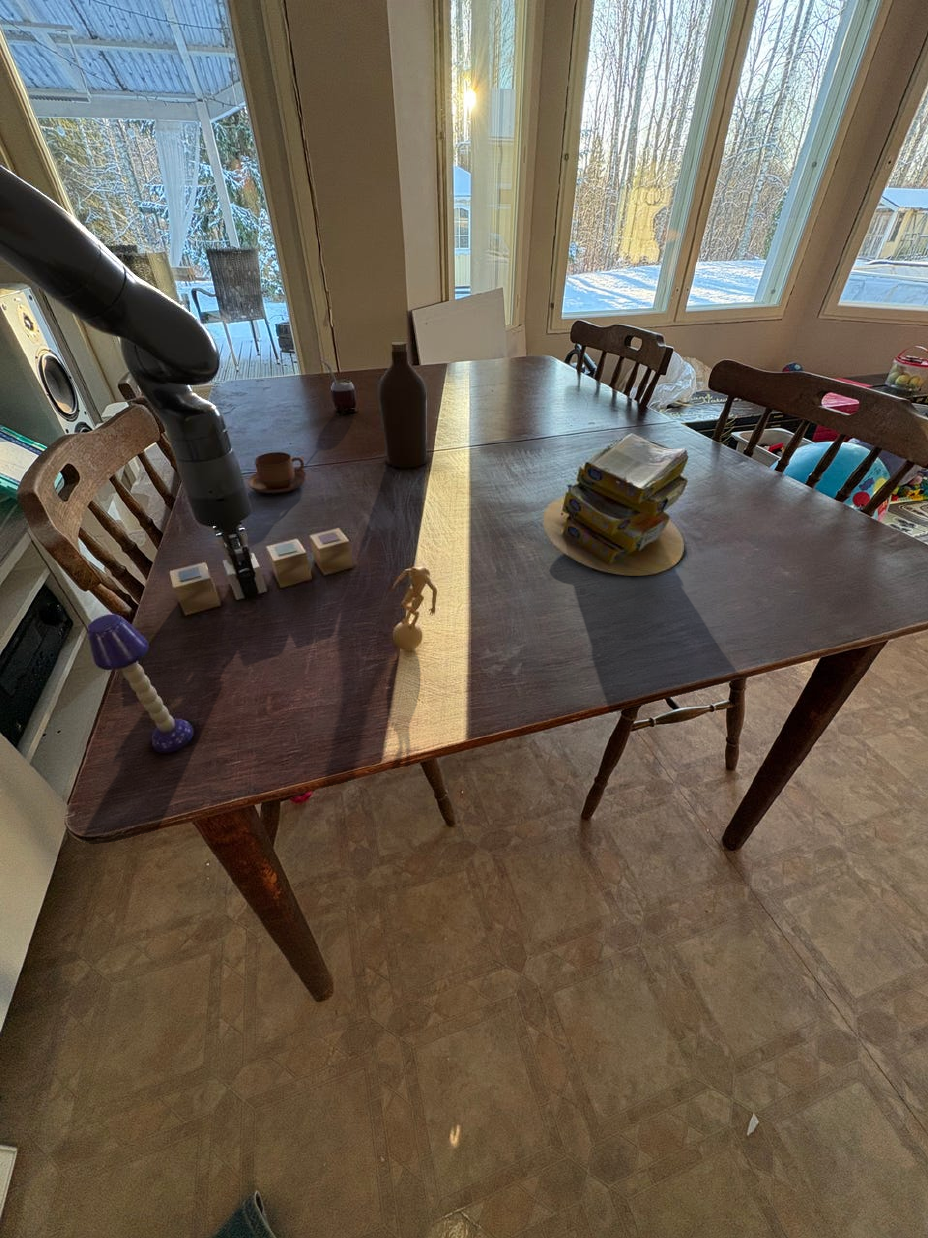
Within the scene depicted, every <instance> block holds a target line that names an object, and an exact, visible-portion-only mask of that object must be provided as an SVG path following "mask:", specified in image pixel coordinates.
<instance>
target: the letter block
mask: <svg viewBox="0 0 928 1238" xmlns="http://www.w3.org/2000/svg"><path fill="white" fill-rule="evenodd" d="M251 555H252V559H251V562H252V565H253V569H254V571H255V573H256V574H255V576H256V577H254V579H255V582H256V585H257V588H258V591H259V593H258V595H259V594H262V593H266V592H268V590H267V586H266V582H265V580H264V579H265V578H264V576H263V573H262V569H261V566H260V564H259V562H258V560H257V558H256V556H255V553H254V552H251ZM222 564H223V566H224V570H225V572H226V575H227V578H228V581H229V583H230V587H231V589H232V592H233V595H234V597H235V600H241V599H245V597H244V595H243V592H242V589H241V587H240V584H239V581H238V579H236V577H235V571H234V568H233V565H230V564H228V562H227V559H224V560H222Z"/></svg>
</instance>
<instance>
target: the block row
mask: <svg viewBox="0 0 928 1238" xmlns="http://www.w3.org/2000/svg"><path fill="white" fill-rule="evenodd" d="M309 539H310V545H311V549H312V554H313V558H314V562H315V564H316V565H317V567H318V568H319V570H320V572H321V573H322V574H323V576H328V575H330V574H334V573H338V572H341V571H345V570H348V569H352V568H354V563H353V558H352V550H351V545H350V540H349V539H348V538H347V536H346V535H345V534H344V533H343V532H342V530H341V529H340V528H339V527H337V528H333V529H330V530H325V531H322V532H318V533H314V534H310V535H309ZM265 549H266V552H267V557H268V559H269V562H270V567H271V569H272V573H273V575H274V577H275V579H276V581H277V583H278V585H279V587H280V588H281V589H282V588H286V587H289V586H292V585H293V586H294V585H296V584H300V583H303V582H307V581H310V580H313V577H312V573H311V567H310V564H309V559H308V555H307V554H308V553H307V551H306V550H305V549H304V547H303V545H302V544H301V543H300V541H299V538H294V539H290V540H286V541H283V542H278V543H274V544H271V545H267V546H265ZM169 575H170V576H169V577H170V581H171V585H172V589H173V591H174V593H175V595H176V598H177V600H178V603H179V604H180V607H181V609H182V611H183V614H184V616H189V615H193V614H195V613H199V612H203V611H207V610H209V609H214V608H217V607H220V606H222V603H221V601H220V598H219V594H218V592H217V589H216V587H215V584H214V581H213V579H212V576H211V573H210V570H209V569H208V565H207V562H205V561H204V562H200V563H197V564H192V565H188V566H185V567H181V568H176V569H173V570H169Z"/></svg>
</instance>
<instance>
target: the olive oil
mask: <svg viewBox="0 0 928 1238" xmlns="http://www.w3.org/2000/svg"><path fill="white" fill-rule="evenodd" d="M390 346H391V351H390V353H391V360H392V361H391V365H390V366H389V367H388V368H387V370H386V371H385V373H384V374H383V375H382V377H381V379H380V381H379V382H378V388H377V397H378V403H379V404H378V405H379V410H380V416H381V417H380V418H381V423H382V424H381V425H382V431H383V437H384V443H385V444H384V445H385V452H386V460H387V463H388V464H389V465H390V466H391V467H394V468H399V469H413V468H418V467H421V466H423V465H425V464H426V463H427V462H428V393H427V387H426V384H425V381H424V379H423V378H422V376H421V375H420V374H419V373H418V372H417V371H416V370H415V368H413V367H412V366H411V364H410V363H409V357H408V356H409V354H408V353H409V352H408V350H407V347H408V346H407V342H405V341H393V342H391V343H390Z"/></svg>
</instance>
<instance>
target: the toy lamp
mask: <svg viewBox="0 0 928 1238" xmlns="http://www.w3.org/2000/svg"><path fill="white" fill-rule="evenodd" d="M86 634H87V638H88V642H89V647H90V652H91V655H92V659H93V662H94V664H95V665H96V666H97V667H98V668H99V669H101V670H103V671H116V670H117V671H118V670H122V674H123V677H124V678H125V679H126V681H128V682H129V686H130V688H131V689H132V690H133V691H134V692H135V694H136V697H137V699H138V700H139V702H141V703H142V706H143V708H144V710H145V711H147V712H148V714H149V717H150V719H151V720H152V721H153V722H155V726H156V727H155V729H154V731H153V733H152V735H151V745H152V748H153V749H154V750H155V751H156V752H158V753H161V754H170V753H174V752H176V751H179V750H181V749H182V748H184V747H185V746H186V745H187V744H188V743H189V742H190V741H191V739H192V738H193V736H194V733H195V732H194V728H193V727H194V726H193V725H192V724H191V723H189V722H188V721H187V720H185V719H181V718H173V716H172V715H171V714H170V712H169V710H168V708H167V706H166V705H164V702H163V701H164V700H163V699H162V698H161V696H160V695H158V693H157V692H158V691H157V690H156V688H155V687H154V686H153V685H152V684H151V680H150V678H149V677H148V676H147V675H146V674H145V670H144V668H143V666H141V665H140V664H139V661H140V660H141V659H142V658H143V657H144V656H146V654H147V652H148V650H149V642H148V639H146V637H145V636H144V635H143V634H141V633H140V632H139V631H138V630H137V629H136V628H135V627H134V626H133V625H132V624H131V623H130V622H128V621H127V620H126V619H125V618H124V617H123V616H121V615H119V614H115V613H112V614H111V613H110V614H104V615H101V616H99V617H96V618H95V619H94V620H92V621H91V622H90V623H88V625H87V628H86Z"/></svg>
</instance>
